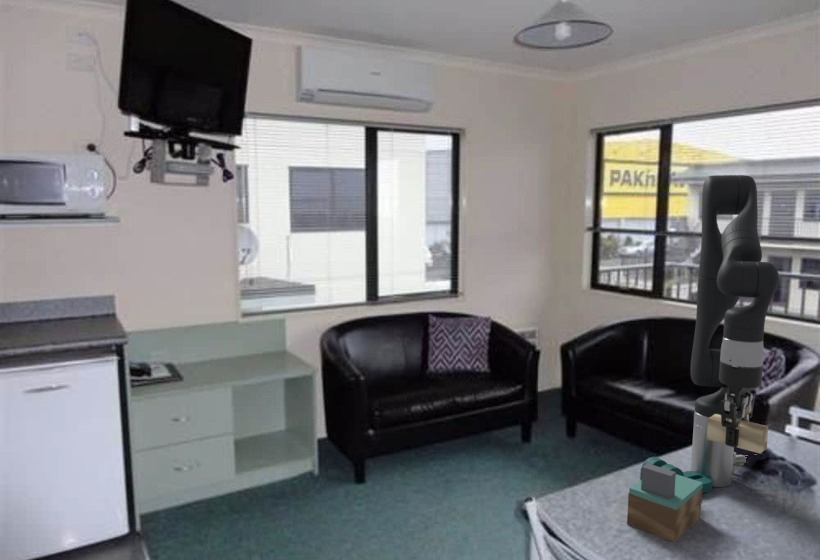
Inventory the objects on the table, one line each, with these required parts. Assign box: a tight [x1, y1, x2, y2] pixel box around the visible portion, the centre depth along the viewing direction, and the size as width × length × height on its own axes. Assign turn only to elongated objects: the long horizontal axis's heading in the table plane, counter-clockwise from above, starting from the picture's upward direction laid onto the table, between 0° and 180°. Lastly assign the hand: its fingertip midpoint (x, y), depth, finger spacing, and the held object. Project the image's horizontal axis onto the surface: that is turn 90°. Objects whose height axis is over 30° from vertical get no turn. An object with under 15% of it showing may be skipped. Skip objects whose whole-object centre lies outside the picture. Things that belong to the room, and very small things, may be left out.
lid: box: [628, 463, 703, 510], centre depth 129 cm, size 14×10×7 cm
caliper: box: [732, 451, 747, 476], centre depth 158 cm, size 20×1×6 cm, turn 125°
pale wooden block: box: [707, 414, 769, 454], centre depth 122 cm, size 4×10×4 cm, turn 44°
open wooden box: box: [626, 489, 703, 543], centre depth 130 cm, size 14×10×7 cm
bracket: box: [639, 456, 713, 494], centre depth 144 cm, size 18×7×8 cm, turn 112°
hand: (735, 442), depth 122 cm, fingers closed on pale wooden block, 4 cm apart
